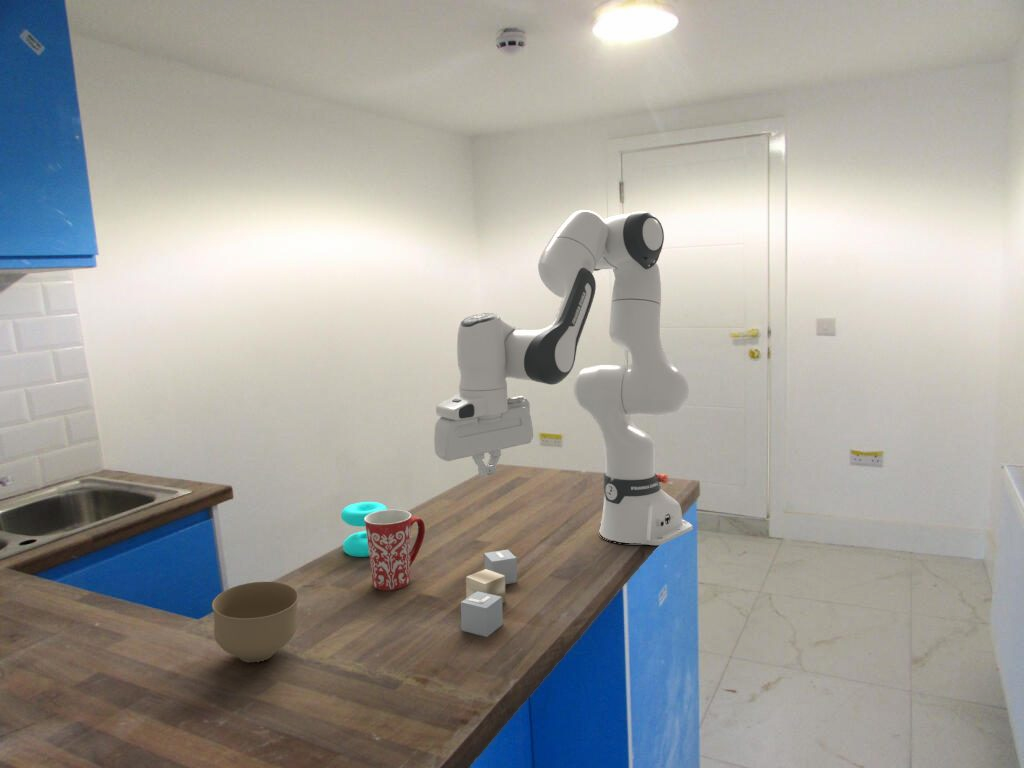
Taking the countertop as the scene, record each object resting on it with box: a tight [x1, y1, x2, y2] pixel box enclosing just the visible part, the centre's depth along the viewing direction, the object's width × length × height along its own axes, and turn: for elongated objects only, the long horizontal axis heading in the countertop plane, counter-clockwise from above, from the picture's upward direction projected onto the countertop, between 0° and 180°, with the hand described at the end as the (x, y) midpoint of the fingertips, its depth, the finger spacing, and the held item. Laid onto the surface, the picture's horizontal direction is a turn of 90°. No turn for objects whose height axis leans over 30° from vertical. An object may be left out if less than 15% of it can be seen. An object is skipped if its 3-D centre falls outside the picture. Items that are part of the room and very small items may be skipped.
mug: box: [364, 509, 426, 591], centre depth 141 cm, size 13×9×14 cm
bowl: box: [211, 581, 300, 663], centre depth 112 cm, size 13×13×10 cm
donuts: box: [340, 501, 388, 558], centre depth 159 cm, size 10×10×10 cm
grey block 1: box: [460, 591, 504, 638], centre depth 121 cm, size 5×5×5 cm
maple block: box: [465, 569, 506, 604], centre depth 131 cm, size 5×5×5 cm
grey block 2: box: [483, 549, 518, 585], centre depth 141 cm, size 5×5×5 cm
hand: (487, 474), depth 136 cm, fingers closed
